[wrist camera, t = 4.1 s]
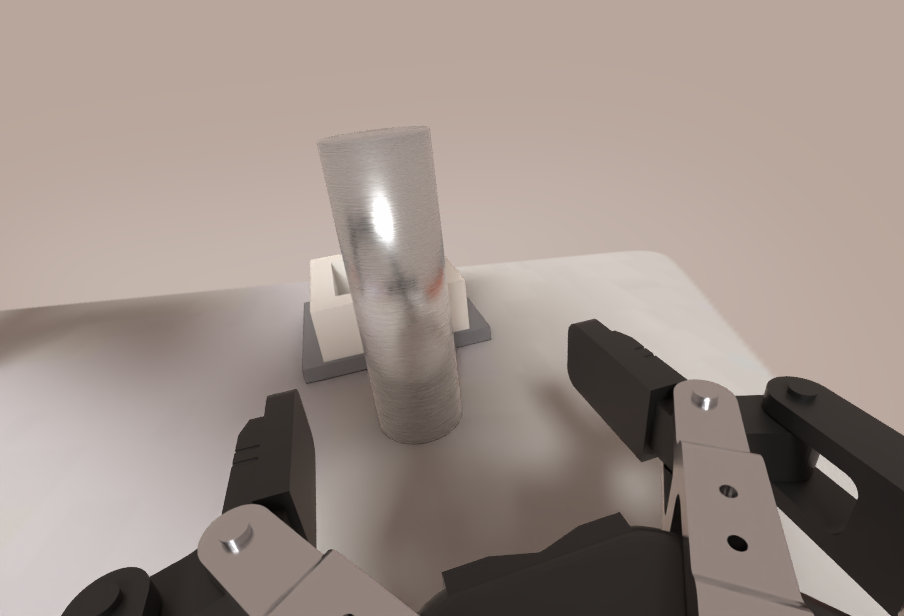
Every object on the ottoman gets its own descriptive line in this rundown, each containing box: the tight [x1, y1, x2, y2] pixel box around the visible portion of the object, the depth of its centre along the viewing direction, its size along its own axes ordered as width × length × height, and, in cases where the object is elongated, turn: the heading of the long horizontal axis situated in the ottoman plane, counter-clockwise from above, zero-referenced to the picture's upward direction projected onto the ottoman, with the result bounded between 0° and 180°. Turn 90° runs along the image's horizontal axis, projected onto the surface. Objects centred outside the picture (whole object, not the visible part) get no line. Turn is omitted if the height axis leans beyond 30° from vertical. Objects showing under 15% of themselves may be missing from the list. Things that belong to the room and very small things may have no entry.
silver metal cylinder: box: [317, 126, 462, 444], centre depth 21 cm, size 4×4×14 cm
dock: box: [302, 254, 491, 383], centre depth 32 cm, size 12×10×4 cm
